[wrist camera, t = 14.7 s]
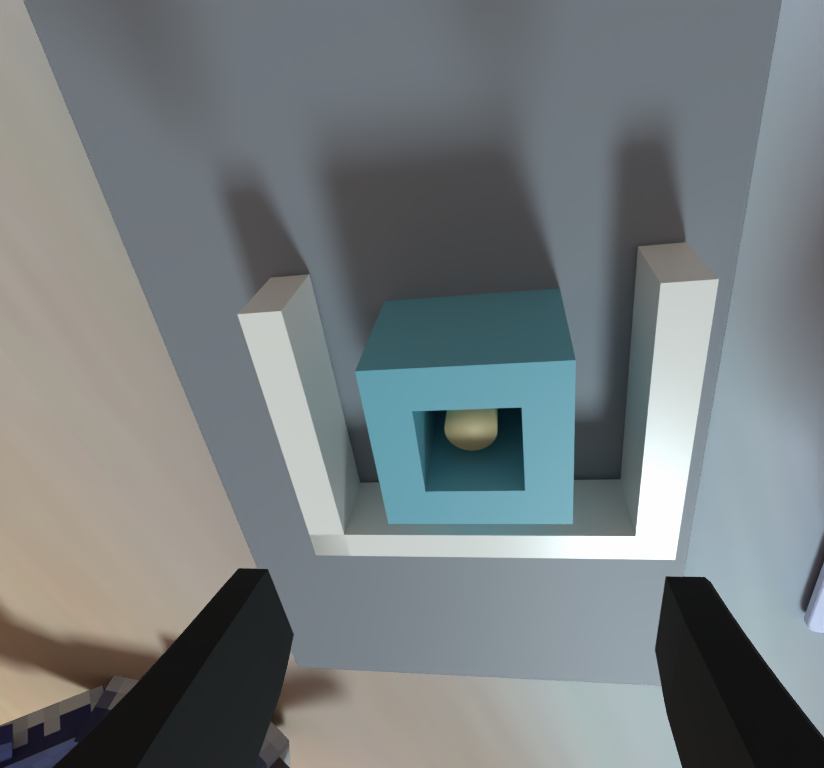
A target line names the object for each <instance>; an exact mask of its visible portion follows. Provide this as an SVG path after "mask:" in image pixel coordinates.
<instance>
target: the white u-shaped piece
mask: <svg viewBox="0 0 824 768" xmlns="http://www.w3.org/2000/svg"><path fill="white" fill-rule="evenodd" d="M718 282H719V279H718V277H717V276H716V275H715V274H714V273H713V272H712V270H711V269H710V268H709V267H708V266H707V264H706V263H705V262H704V261H703V260H702V259H701V257H700V256H699V255H698V254H697V253H696V252H695V250H694V249H693V248H692V247H691V246H690V245H689V243H688V242H683V243H671V244H660V245H648V246H638V252H637V265H636V279H635V292H634V306H633V319H632V332H631V346H630V359H629V373H628V386H627V400H626V413H625V427H624V440H623V454H622V467H621V479H605V480H574V487H573V524H388V520H387V515H386V511H385V506H384V501H383V497H382V492H381V488H380V483H379V482H370V483H360V480H359V476H358V471H357V467H356V463H355V459H354V455H353V451H352V447H351V443H350V439H349V434H348V430H347V426H346V422H345V418H344V414H343V410H342V406H341V402H340V397H339V393H338V389H337V385H336V381H335V377H334V373H333V369H332V365H331V361H330V356H329V352H328V348H327V344H326V340H325V336H324V332H323V328H322V324H321V319H320V315H319V311H318V307H317V303H316V299H315V295H314V291H313V287H312V282H311V278H310V274H307V275H295V276H283V277H272V278H270V279H269V280H268V281H267V282H266V283H265V284H264V285H263V287H262V288H261V289H260V290H259V291H258V292H257V293H256V294H255V295H254V296H253V298H252V299H251V300H250V301H249V302H248V303H247V304H246V305H245V306H244V307H243V309H242V310H241V311H240V312H239V313H238V314H237V315H238V318H239V321H240V324H241V327H242V330H243V333H244V336H245V339H246V342H247V346H248V349H249V352H250V355H251V358H252V361H253V364H254V367H255V370H256V373H257V376H258V379H259V382H260V385H261V388H262V391H263V395H264V398H265V401H266V404H267V407H268V410H269V413H270V416H271V419H272V422H273V425H274V428H275V431H276V434H277V437H278V440H279V444H280V447H281V450H282V453H283V456H284V459H285V462H286V465H287V468H288V471H289V474H290V477H291V480H292V483H293V486H294V489H295V493H296V496H297V499H298V502H299V505H300V508H301V511H302V514H303V517H304V520H305V523H306V526H307V529H308V532H309V535H310V538H311V542H312V545H313V548H314V551H315V554H316V555H322V556H404V557H486V558H568V559H650V560H675V558H676V551H677V545H678V538H679V532H680V526H681V519H682V513H683V506H684V500H685V493H686V487H687V481H688V474H689V468H690V461H691V455H692V449H693V442H694V436H695V429H696V423H697V417H698V410H699V404H700V397H701V391H702V384H703V378H704V372H705V365H706V359H707V352H708V346H709V340H710V333H711V327H712V320H713V314H714V308H715V301H716V295H717V288H718Z"/></svg>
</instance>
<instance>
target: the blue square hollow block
mask: <svg viewBox="0 0 824 768" xmlns="http://www.w3.org/2000/svg"><path fill="white" fill-rule="evenodd" d="M355 374H356V378H357V383H358V387H359V392H360V396H361V401H362V406H363V410H364V415H365V419H366V424H367V428H368V433H369V438H370V442H371V447H372V451H373V456H374V460H375V465H376V469H377V474H378V479H379V483H380V488H381V492H382V497H383V501H384V506H385V511H386V515H387V520H388V524H573V487H574V432H575V377H576V359H575V354H574V350H573V345H572V341H571V336H570V332H569V327H568V323H567V318H566V314H565V309H564V305H563V300H562V296H561V291H560V288H558V289H544V290H530V291H517V292H503V293H489V294H476V295H462V296H448V297H434V298H421V299H407V300H393V301H384V304H383V306H382V308H381V311H380V313H379V316H378V318H377V320H376V323H375V325H374V327H373V330H372V332H371V334H370V337H369V339H368V342H367V344H366V346H365V349H364V351H363V353H362V356H361V358H360V361H359V363H358V365H357V368H356V370H355ZM493 408H498V428H497V436H496V438H495V440H494V441H493V443H492V444H490V445H489V446H488V447H486V448H484V449H481V450H475V451H469V450H464V449H460V448H458V447H456V446H455V445H453V444H452V443H451V442H450V441H449V440H448V439H447V437H446V434H445V430H444V427H445V420H446V413H447V410H465V409H493Z"/></svg>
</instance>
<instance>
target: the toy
mask: <svg viewBox="0 0 824 768" xmlns="http://www.w3.org/2000/svg"><path fill="white" fill-rule="evenodd" d="M138 681H139V680H137V679H132V678H127V677H122V676H116V675H114V676H113V677H112V679H111V681H110V682H109V684H108V686H107V687H106V689H104V686H103V685H101V686H99V687H96V688H94V689H91V690H89V691H86V692H84V693H81V694H78V695H76V696H73V697H71V698H68V699H66V700H63V701H61V702H58V703H56V704H53V705H51V706H48V707H46V708H43V709H40V710H38V711H35V712H33V713H30V714H28V715H25V716H23V717H20V718H18V719H15V720H13V721H10V722H8V723H5V724H2V725H0V768H52V767H53V766H54V765H55V764H56V763H57V762H59V761H60V760H61V759H62V758H63V757H64V756H65V755H66V754H67V753H68V752H69V751H70V750H71V749H72V748H73V747H74V746H75V745H77V744H78V743H79V742H80V741H81V740H82V739H83V738H84V737H85V736H86V735H87V734H88V733H89V732H90V731H91V730H92V729H93V728H94V727H95V726H96V725H97V724H98V723H99V722H100V721H101V720H102V719H103V718H104V717H105V716H106V715H107V714H108V713H109V711H110V710H111V709H112V708H113V707H114V706H115V705H116V704H117V703H118V702H119V701H120V700H121V699H122V698H123V697H124V696H125V695H126V694H127V693H128V692H129V691H130V690H131V689H132V688H133V687H134V686H135V685H136V684H137V682H138ZM289 764H290V752H289V740H288V739H287V738H286V737H285V736H284V734H283V733H282V732H281V731H280V730H279V729H278V728H277V727H276V726H275V725H274V724H273V723H272V722H270V725H269V728H268V731H267V734H266V736H265V739H264V742H263V745H262V748H261V751H260V754H259V756H258V759H257V762H256V765H255V768H289V766H288V765H289Z"/></svg>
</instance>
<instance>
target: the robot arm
mask: <svg viewBox="0 0 824 768" xmlns="http://www.w3.org/2000/svg"><path fill="white" fill-rule="evenodd" d="M804 621H805V623H806V625H807V627H808V628H809V629H810V630H812V631H814V632H819V633H824V563H823V566H822V569H821V571H820V574H819V577H818V580H817V583H816V585H815V588H814V591H813V594H812V597H811V599H810V602H809V605H808V608H807V611H806V613H805V616H804ZM293 636H294V633H293V631H292V628H291V626H290V623H289V621H288V618H287V616H286V613H285V611H284V608H283V606H282V603H281V601H280V598H279V596H278V593H277V591H276V588H275V585H274V583H273V580H272V578H271V575H270V573H269V570H268V569H242V568H239V569H238V570H237V571H236V572H235V573H234V574H233V575H232V577H231V578H230V579H229V580H228V581H227V582H226V583H225V584H224V586H223V587H222V588H221V589H220V590H219V591H218V592H217V594H216V595H215V596H214V597H213V598H212V599H211V601H210V602H209V603H208V604H207V605H206V606H205V607H204V609H203V610H202V611H201V612H200V613H199V614H198V616H197V617H196V618H195V619H194V620H193V621H192V622H191V624H190V625H189V626H188V627H187V628H186V629H185V630H184V632H183V633H182V634H181V635H180V636H179V637H178V638H177V639H176V641H175V642H174V643H173V644H172V645H171V646H170V647H169V648H168V649H167V651H166V652H165V653H164V654H163V655H162V656H161V657H160V658H159V659H158V661H157V662H156V663H155V664H154V665H153V666H152V667H151V668H150V669H149V671H148V672H147V673H146V674H145V675H144V676H143V677H142V678H141V679H140V680H139V681H138V682H137V684H136V685H135V686H134V687H133V688H132V689H131V690H130V691H129V692H128V693H127V694H126V695H125V696H124V697H123V698H122V699H121V700H120V701H119V702H118V703H117V704H116V705H115V706H114V707H113V708H112V709H111V710H110V711H109V713H108V714H107V715H106V716H105V717H104V718H103V719H102V720H101V721H100V722H99V723H98V724H97V725H96V726H95V727H94V728H93V729H92V730H91V731H90V732H89V733H88V734H87V735H86V736H85V737H84V738H83V739H82V740H81V741H80V742H79V743H78V744H77V745H75V746H74V747H73V748H72V749H71V750H70V751H69V752H68V753H67V754H66V755H65V756H64V757H63V758H62V759H61V760H60V761H59V762H57V763H56V764H55V765H54V766H53V767H52V768H255V765H256V762H257V759H258V756H259V754H260V751H261V748H262V745H263V742H264V739H265V736H266V734H267V731H268V728H269V725H270V722H271V719H272V716H273V713H274V710H275V707H276V705H277V702H278V699H279V696H280V693H281V689H282V685H283V681H284V677H285V673H286V669H287V665H288V660H289V655H290V650H291V646H292V641H293ZM655 653H656V659H657V664H658V670H659V675H660V681H661V686H662V691H663V697H664V702H665V707H666V712H667V716H668V720H669V723H670V727H671V730H672V734H673V737H674V741H675V744H676V747H677V751H678V754H679V758H680V761H681V765H682V768H824V737H823V736H822V735H821V733H820V732H819V731H818V730H817V728H816V727H815V726H814V725H813V723H812V722H811V721H810V720H809V718H808V717H807V716H806V714H805V713H804V712H803V711H802V709H801V708H800V707H799V705H798V704H797V703H796V701H795V700H794V699H793V698H792V696H791V695H790V694H789V692H788V691H787V690H786V689H785V687H784V686H783V685H782V683H781V682H780V681H779V680H778V678H777V677H776V675H775V674H774V673H773V671H772V670H771V669H770V667H769V666H768V665H767V663H766V662H765V661H764V659H763V658H762V657H761V655H760V654H759V652H758V651H757V650H756V648H755V647H754V645H753V644H752V643H751V641H750V640H749V638H748V637H747V636H746V634H745V633H744V631H743V630H742V628H741V627H740V626H739V624H738V623H737V621H736V620H735V618H734V617H733V615H732V614H731V612H730V611H729V610H728V608H727V607H726V605H725V604H724V602H723V600H722V599H721V597H720V596H719V594H718V593H717V591H716V590H715V588H714V587H713V585H712V584H711V582H710V581H709V580H707V579H706V578H705V577H671V576H666V577H665V584H664V591H663V598H662V605H661V611H660V618H659V625H658V632H657V638H656V645H655Z"/></svg>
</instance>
